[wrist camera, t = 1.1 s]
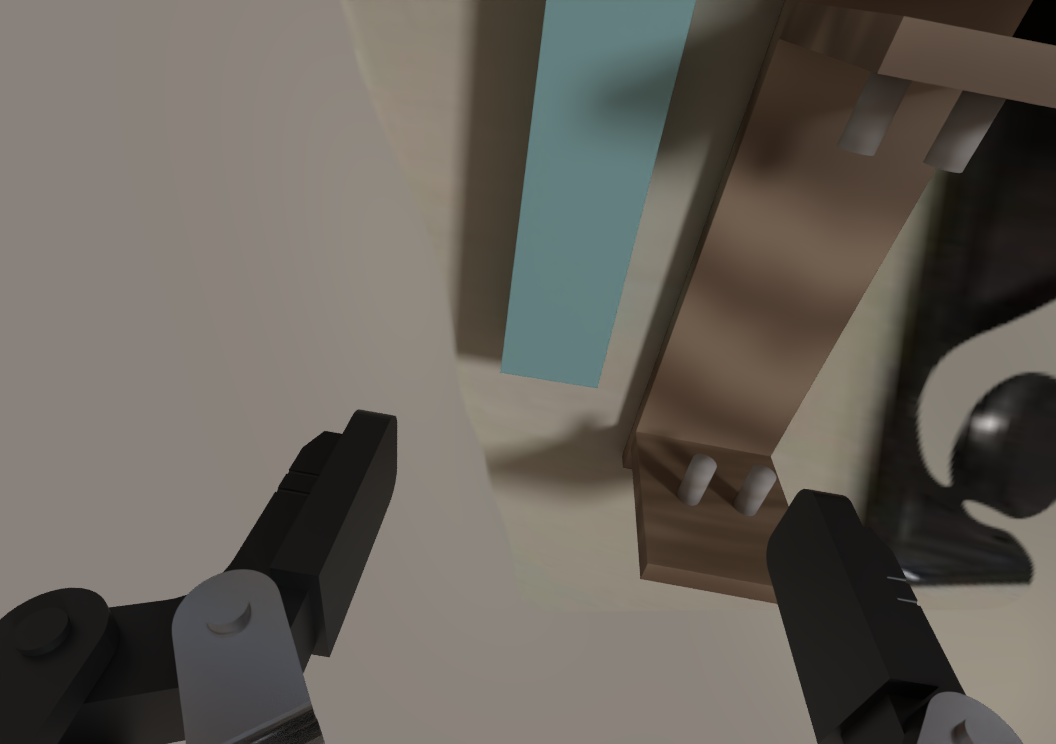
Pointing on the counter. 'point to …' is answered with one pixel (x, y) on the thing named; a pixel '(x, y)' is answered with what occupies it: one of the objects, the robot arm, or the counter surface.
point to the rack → (804, 254)
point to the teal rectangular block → (587, 177)
